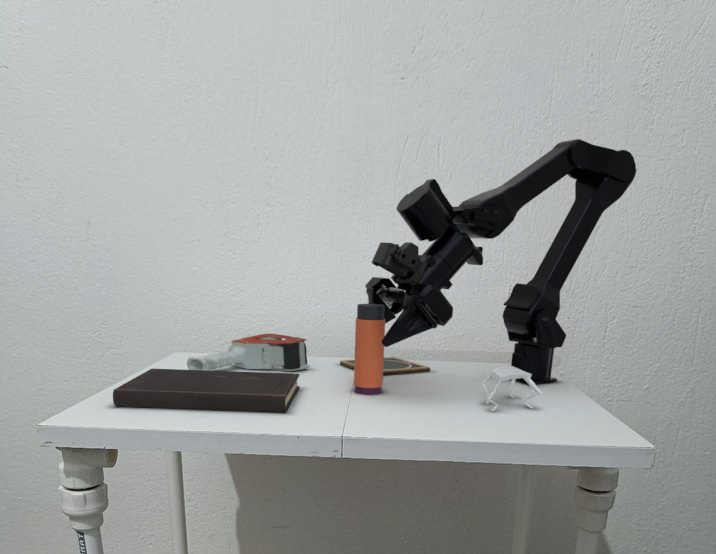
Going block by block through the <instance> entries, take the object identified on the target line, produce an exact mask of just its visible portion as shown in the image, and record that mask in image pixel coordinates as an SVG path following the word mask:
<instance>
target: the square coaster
mask: <svg viewBox="0 0 716 554" xmlns="http://www.w3.org/2000/svg"><path fill="white" fill-rule="evenodd" d="M339 365H340V366H342V367H346V368H348V369H351V370H354V366H355V359H344V360H343V359H341V360H340V361H339ZM429 372H431V367H430V366H427V365H424V364H420V363H417V362H414V361H409V360H406V359H402V358H399V357H396V356H389V357H384V362H383V377H384V376H394V375H406V374H407V375H408V374H420V373H429Z"/></svg>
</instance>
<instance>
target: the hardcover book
mask: <svg viewBox="0 0 716 554" xmlns="http://www.w3.org/2000/svg"><path fill="white" fill-rule="evenodd" d="M299 377H300V373H291V372H289V373H288V372H263V371H262V372H261V371H236V370H234V371H232V370H189V369H179V368H178V369H176V368H175V369H174V368H150V369H148V370H146V371H145V372H143V373H141V374H139V375H137V376H135V377H134V378H132V379H130V380H129V381H127V382H125V383H123V384H121V385H119V386H118V387H116V388H114V389H113V391H112V402H113V405H114V406H115V407H121V408H122V407H124V408H149V409H150V408H151V409H174V410H175V409H179V410H202V411H203V410H204V411H228V412H229V411H233V412H259V413H261V412H262V413H285V414H286V412H287V411H288V409H289V407H290V405H291V404H292V402H293V400H294V398H295V397H296V395H297V394H298V391H299V389H300V385H298V379H299Z"/></svg>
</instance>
